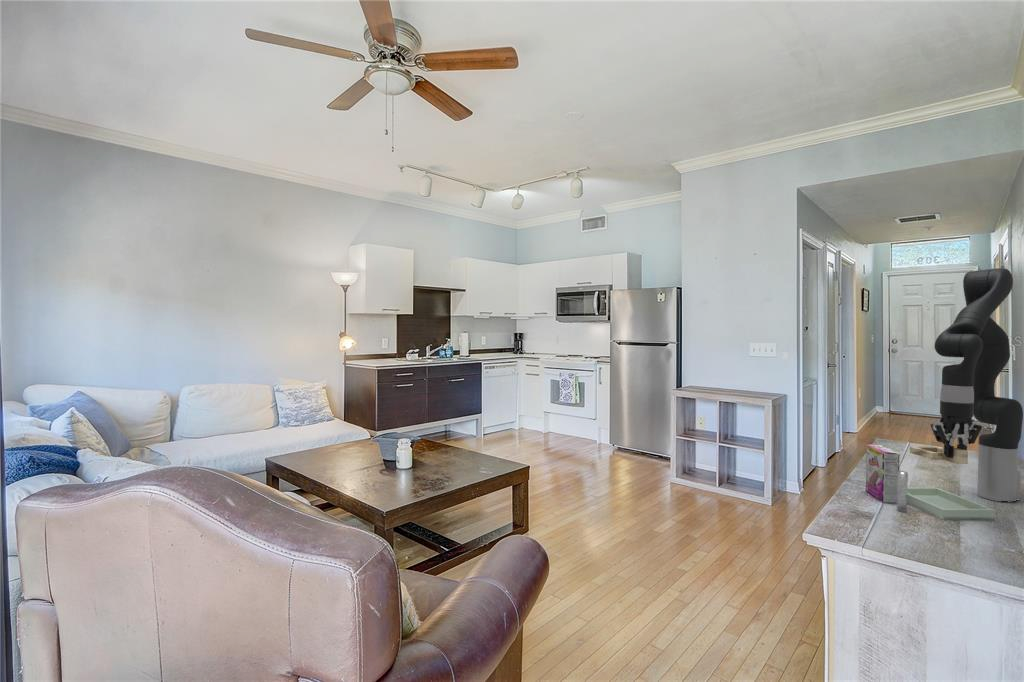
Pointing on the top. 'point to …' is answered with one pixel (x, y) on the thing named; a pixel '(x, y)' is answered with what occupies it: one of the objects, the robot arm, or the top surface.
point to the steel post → (902, 491)
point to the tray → (947, 505)
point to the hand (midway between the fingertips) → (955, 457)
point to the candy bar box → (882, 473)
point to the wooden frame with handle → (941, 454)
